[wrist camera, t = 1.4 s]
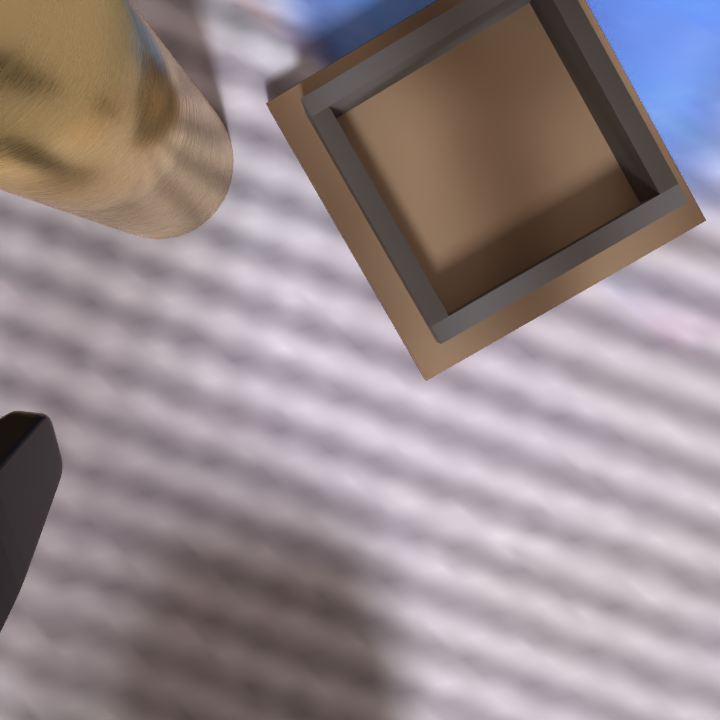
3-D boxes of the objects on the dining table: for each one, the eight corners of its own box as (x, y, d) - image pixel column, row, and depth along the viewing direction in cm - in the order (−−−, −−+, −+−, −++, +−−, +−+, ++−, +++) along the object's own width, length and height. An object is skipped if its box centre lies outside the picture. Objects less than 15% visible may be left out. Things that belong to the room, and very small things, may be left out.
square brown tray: (424, 378, 23) (429, 385, 20) (270, 111, 22) (258, 87, 20) (694, 223, 22) (731, 213, 20) (542, -53, 22) (562, -97, 19)
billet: (130, 267, 23) (-193, 202, 10) (51, 133, 22) (-389, -117, 9) (261, 188, 22) (108, 15, 9) (182, 53, 22) (-86, -317, 9)
